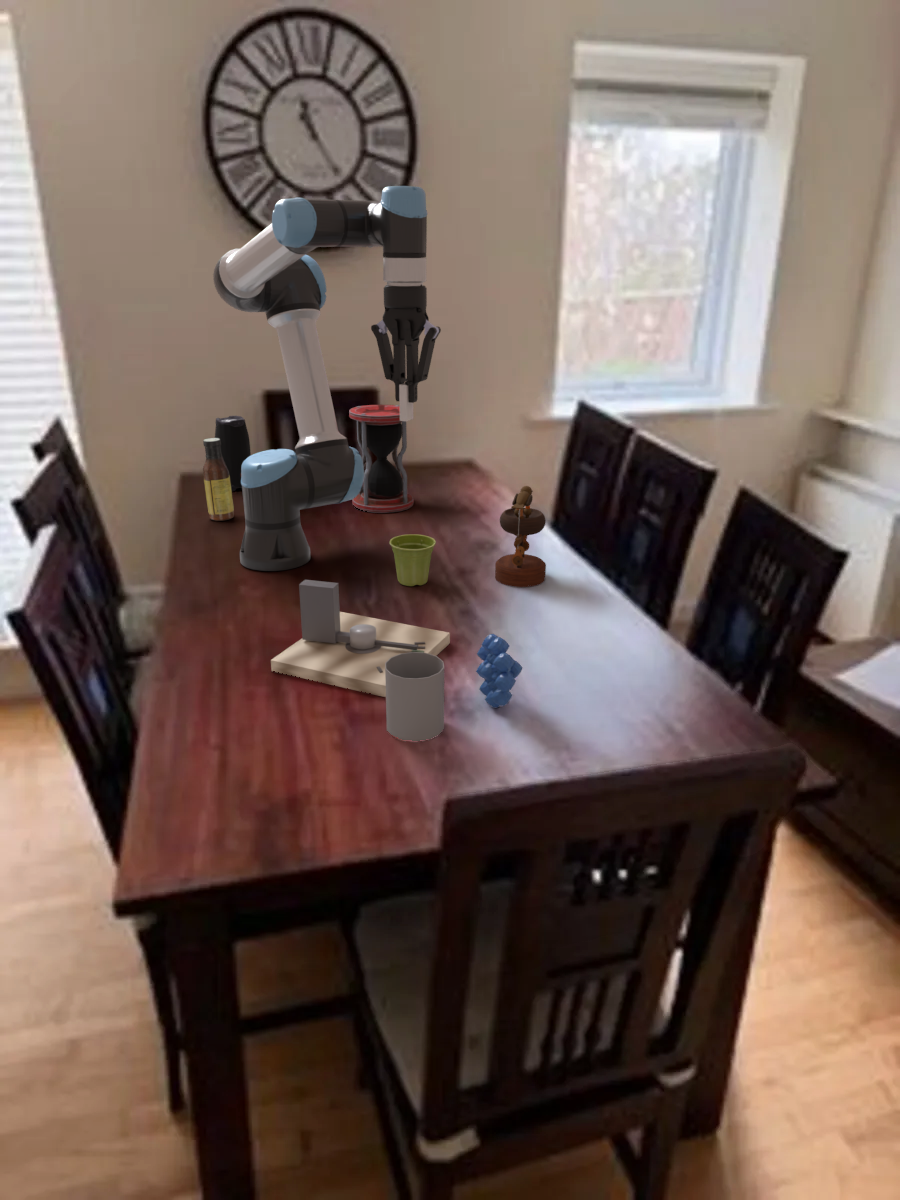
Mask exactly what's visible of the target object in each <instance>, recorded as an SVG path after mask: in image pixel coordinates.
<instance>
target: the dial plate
mask: <svg viewBox="0 0 900 1200" xmlns="http://www.w3.org/2000/svg"><path fill="white" fill-rule="evenodd" d="M360 624H367V625H372V626H374V627H375V628H376V640H381V641H389V642H397V643H406V644H414V645H418V649H417V650H410V649H402V648H394V647H386V646H377V645H376V646H374V647H373V648H370V649H355V648H353V647H351V645H350V643H344V642H337V643H336V644H335V643H326V642H318V641H310V640H302V638H300V639H299V640H297V641H296V642H295V643H293V644H292V645H290V646H289V647H287V648H286V649H285V650H283V651H282V652H281V653H279V654H277V655H275V656H274V657H273V658H272V659H270V668H271V672H273V671H275V672H274V673H278V672H279V673H278V674H282V673H283V675H286V674H287V676H291V675H292V676H291V677H295V676H296V678H299V677H300V679H305V680H308V679H309V680H308V681H312V680H313V681H314V682H317V681H318V683H321V682H322V684H326V685H331V686H334V685H335V687H339V688H343V689H347V688H348V689H349V690H352V691H357V692H361V691H362V692H361V693H365V692H366V693H365V694H369V693H371V694H370V695H375V696H378V697H384V698H386V678H385V663H386V662H387V661H388V660H389V659H390V658H391V657H393V656H396V655H399V654H402V653H410V652H420V653H428V654H431V655H435V656H437V657H438V655H439V654H441V652H442V651H443V650H444V649H445V648H446V647H447V646H449V644H450V642H451V632H448V631H443V630H437V629H432V628H427V627H423V626H417V625H412V624H406V623H402V622H396V621H391V620H386V619H380V618H375V617H369V616H365V615H359V614H356V613H355V614H354V613H349V612H344V611H340V630H341V631H342V632H350V628H351V627H353V626H355V625H360ZM313 681H312V682H313ZM348 689H347V690H348Z"/></svg>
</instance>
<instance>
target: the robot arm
mask: <svg viewBox="0 0 900 1200" xmlns="http://www.w3.org/2000/svg"><path fill="white" fill-rule="evenodd" d="M426 196H427V195H426V192H425V189H424V188H423V187H420V186H413V185H412V186H411V185H392V186H391V185H388V186H385V187H384V188H383V189H382V191H381V199H380V200H355V199H353V200H351V199H325V198H324V199H323V198H304V197H297V196H296V197H294V198H293V197H292V198H282V199H280V200H278V201H277V202H276V203H275V205H274V209H273V210H272V214H271V223H270V224H269V225H267V226H266V227H265V228H264V229H263V230H262V231H260V232H259V233H258V234H257V235H255V236H254V237H253V238H251V240H249V241H248V242H247V243H246V244H244V245H242V247H240V248H234V249H230V250H228V251H227V252H226V253H224V254H223V255H222V256H221V257H220V258H219V259H218V261H217V262H216V264H215V265H214V269H213V274H212V275H213V276H212V277H213V284H214V288H215V290H216V292H217V294H218V296H219V297H220V298H221V299H222V300H223V301H224V302H225V303H226V304H227V305H228V306H230V307H232V308H233V309H236V310H239V311H241V312H246V313H265V316H266V321H267V324H268V325H270V326H271V327H272V328H274V329H275V330H276V334H277V337H278V344H279V347H280V352H281V356H282V357H281V358H282V362H283V366H284V371H285V375H286V380H287V385H288V389H289V394H290V399H291V404H292V407H293V408H292V409H293V413H294V417H295V423H296V427H297V431H298V436H299V439H298V442H297V444H296V445H295V447H294V450H292V449H288V448H277V449H274V448H273V449H267V450H263V451H258V452H256V453H253V454H251V456H249V457H248V458H246V460H244V462H243V463H242V466H241V484H242V488H241V490H242V498H243V499H242V500H243V501H242V502H243V510H244V519H245V520H244V521H245V529H244V532H243V537H242V541H241V545H240V550H239V560H240V561H239V562H240V564H241V565H242V566H243V567H245V568H247V569H250V570H253V571H262V572H277V571H279V572H281V571H287V570H293V569H295V568H298V567H299V568H300V567H301V566H303V565H306V564H307V563H309V561H310V560H311V547H310V544H309V543H308V541H307V537H306V534H305V533H304V532H305V531H304V530H303V526H302V525H301V513H300V510H306V509H312V508H317V507H322V506H327V505H328V506H329V505H338V504H341V503H343V502H347V501H351V500H352V499H354V498H355V497H356V496H357V495H358V494H359V492H360V490H361V487H362V485H363V479H364V472H365V470H364V469H365V468H364V467H365V465H364V466H363V461H362V455H361V454H360V452H359V451H358V450H357V448H355V447H351V446H349V442H348V438H347V437H346V436H345V435H343V434H341V432H340V431H339V427H338V422H337V418H336V413H335V409H334V404H333V399H332V396H331V395H332V394H331V390H330V386H329V380H328V375H327V371H326V370H327V369H326V366H325V361H324V356H323V351H322V348H321V342H320V337H319V332H318V329H317V321H318V320H319V318H320V316H321V309H322V308H323V307H324V305H325V304H326V300H327V294H326V293H327V283H326V278H325V276H324V272H323V270H322V268H321V267H320V264H319V263H318V262H317V261H316V260H315V259H314V258H313V257H312V256H310V255H308V254H309V253H310V252H311V251H314V250H315V249H317V248H320V247H321V248H327V247H328V248H329V247H331V248H333V247H334V248H335V247H338V248H340V247H349V248H350V247H352V248H354V247H360V248H361V247H362V248H375V247H377V248H378V247H379V248H381V247H382V261H383V262H382V267H383V268H382V269H383V271H382V279H383V282H384V283H386V285H384V287H383V305H384V306H383V307H384V312H383V314H382V319H381V320H380V321H378V323H375V324H371V326H370V329H371V332H372V333H373V335H374V337H375V339H376V342H377V347H378V351H379V357H380V360H381V365H382V370H383V373H384V378H385V379H386V380H388V381H389V380H390V381H392V383H394V392H395V394H394V397H395V398H394V399H395V401H396V402H398V403H399V404H398V405H400V421H406V422H409V421H411V420H414V417H415V416H414V403H416V402H417V401H418V384H419V383H421V382H423V381H427V379H428V377H429V372H430V367H431V363H432V358H433V353H434V348H435V344H436V340H437V338H438V337H439V335H440V333H441V331H442V330H441V327H440V326H435V325H434V324H433V323H431V322H430V320H429V319H430V318H429V316H428V313H427V305H428V304H427V303H428V302H427V301H428V297H427V296H428V294H427V293H428V291H427V290H428V289H427V287H426V285H424V283H426V282H427V239H428V237H427V231H428V230H427V227H428V225H427V223H428V222H427V220H428V219H427V217H428V210H427V200H426V199H427V198H426ZM388 331H389V333H390V335H391V342H390V337H389V335H388ZM423 331H424V332H423ZM422 333H423V334H424V339H423V341H422V347H421V351H420V354H419V345H420V336H421V334H422ZM391 344H392V346H393V348H392V347H391ZM392 350H393V351H392ZM419 355H420V357H419Z"/></svg>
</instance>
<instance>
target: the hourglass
mask: <svg viewBox="0 0 900 1200" xmlns="http://www.w3.org/2000/svg"><path fill="white" fill-rule="evenodd" d="M348 413H349V415H348V417H349V418H350V419H352V420H354V421H356V433H357V435H356V436H357V437H356V438H357V442H358V443H357V444H358V446H359V448H360V450H361V454H362V455H361V458H362V461H363V466H364V467H365V470H364V479H363V485H362V487H361V490H360V492H359V494H358V495H357V496H356V497H355V498H354V499H352V501H351V502H352V506H353V505H354V506H355V507H356V508H358V509H360V510H359V511H361V510H363V511H362V512H365V511H367V512H368V513H374V514H375V513H376V514H377V513H378V514H387V513H397V512H402V511H405V510H408V509H410V508H412V507H413V506H414V504H415V502H414V499H415V498H414V497H413V495H411V494H410V493H408V474H407V471H406V470H405V468H404V465H403V456H404V454H405V453H406V452H407V447H408V446H407V443H408V442H407V438H408V437H407V436H408V435H407V421H400V404H369V405H368V404H367V405H358V406H355V407H352V408H350V409H349V412H348ZM400 442H401V450H400V452H399V453H398V448H399V445H400ZM368 449H369V450H368ZM369 451H370V452H372V454H374V456H375V457H376V460H375V461H374V462H373V461H372V460H373V459H372V457H371V454H370V453H369ZM390 454H391V458H392V461H393V463H394V465H395V466H394V465H393V464H392V463H391V462H390V461H389V460H388V456H389V455H390ZM365 464H366V465H365ZM355 507H354V508H355ZM356 508H355V509H356ZM358 509H357V510H358ZM367 512H366V513H367Z"/></svg>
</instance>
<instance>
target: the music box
mask: <svg viewBox="0 0 900 1200" xmlns="http://www.w3.org/2000/svg"><path fill="white" fill-rule="evenodd" d="M533 492H534V491H533V490H532V488H531V487H530V486H529V485H524V486H522V487H521V488H520V492H518V493H516V494H515V496H514V498H513V500H512V504H511V505H512V506H510V507H511V508H508V509H505V510H504V511H503V512H502V513H501V514H500V517H499V525H500V527H501V528H502V530H503V531H504V532H506V533H508V534H511V535H514V536H515V537H514V538H515V539H514V542H513V547H514V548H515V552H514V553H513V554H506V555H503V556H501V557H499V559H497V560H496V561H495V565H494V567H495V569H494V579H495V580H496V581H497V582H498V583H499V584H502V585H505V586H508V587H514V588H530V587H536V586H539V585H541V584H543V583H544V582H545V581H546V572H547V569H546V568H547V564H546V562H545V561H544V560H543V559H542V558H540V557H539V556H535V555H532V554H525V552H527V551H528V550H529V549H530V542H528V540H527V539H528V536H531V535H536V534H539V533H540V532H541V531H543V529H544V528H545V526H546V524H547V523H546V517H545V514H544V513H543V512H542V511H541V510H539V509H536V508H532V507H531V504H532V503H533V495H532V494H533Z"/></svg>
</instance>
